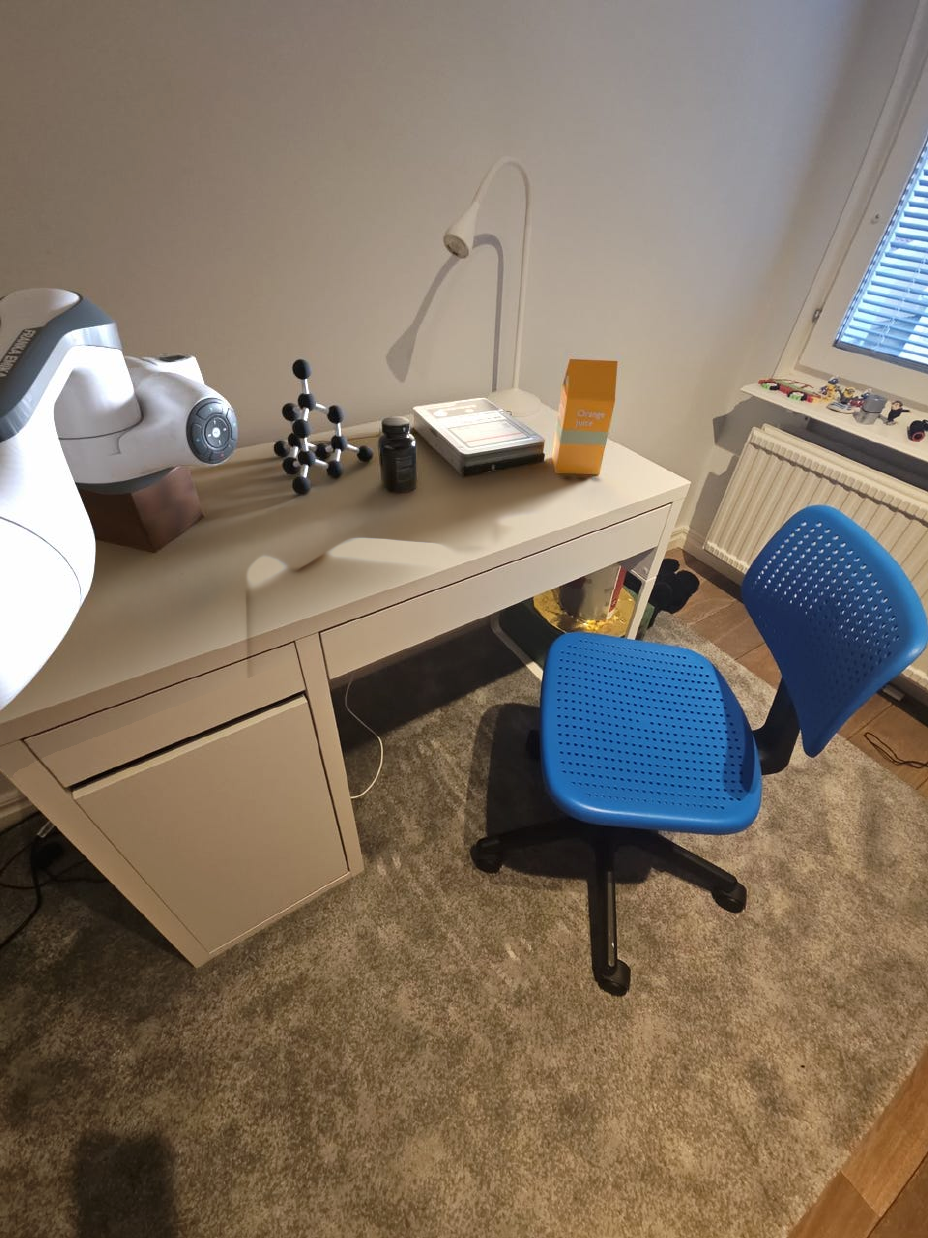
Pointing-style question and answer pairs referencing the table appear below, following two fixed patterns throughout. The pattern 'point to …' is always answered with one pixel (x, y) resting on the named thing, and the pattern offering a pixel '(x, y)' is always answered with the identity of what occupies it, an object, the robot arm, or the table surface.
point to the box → (145, 512)
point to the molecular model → (303, 430)
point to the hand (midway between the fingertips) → (82, 374)
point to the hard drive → (477, 436)
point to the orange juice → (584, 416)
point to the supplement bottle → (397, 456)
